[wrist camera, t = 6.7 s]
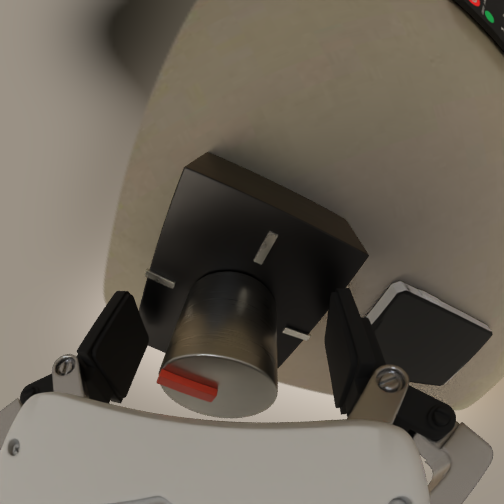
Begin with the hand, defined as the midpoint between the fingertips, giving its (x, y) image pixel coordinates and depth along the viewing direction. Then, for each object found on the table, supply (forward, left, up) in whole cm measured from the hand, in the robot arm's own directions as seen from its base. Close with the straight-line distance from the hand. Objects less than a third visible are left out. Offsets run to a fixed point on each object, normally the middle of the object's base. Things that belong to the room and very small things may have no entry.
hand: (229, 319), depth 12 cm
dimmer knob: (0, 0, -1) cm, 1 cm away
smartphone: (-8, -15, -5) cm, 17 cm away
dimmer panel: (0, 0, -5) cm, 5 cm away
